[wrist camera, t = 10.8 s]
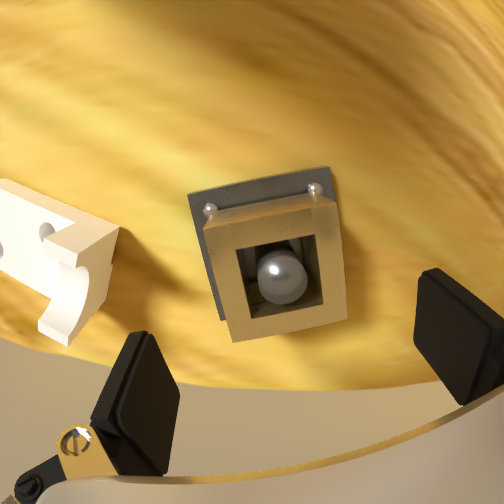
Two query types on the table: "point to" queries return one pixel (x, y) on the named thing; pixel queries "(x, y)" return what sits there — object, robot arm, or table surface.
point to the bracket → (56, 256)
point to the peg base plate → (271, 254)
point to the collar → (272, 230)
